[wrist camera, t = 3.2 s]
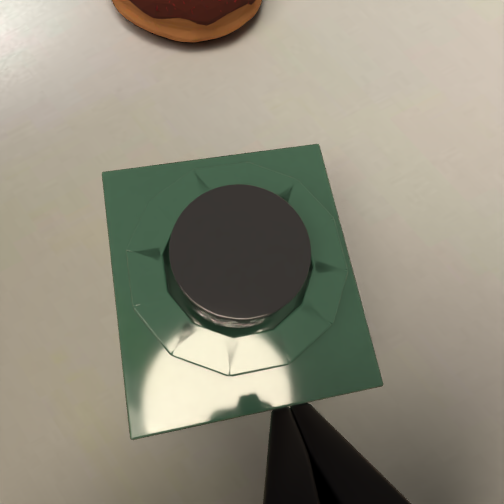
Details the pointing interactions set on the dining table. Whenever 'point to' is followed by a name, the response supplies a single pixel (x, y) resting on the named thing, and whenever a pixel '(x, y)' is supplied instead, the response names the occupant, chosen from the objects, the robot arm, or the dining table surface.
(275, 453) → the robot arm
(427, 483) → the dining table surface
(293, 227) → the dark round knob
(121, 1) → the donut
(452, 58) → the dining table surface
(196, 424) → the button base
